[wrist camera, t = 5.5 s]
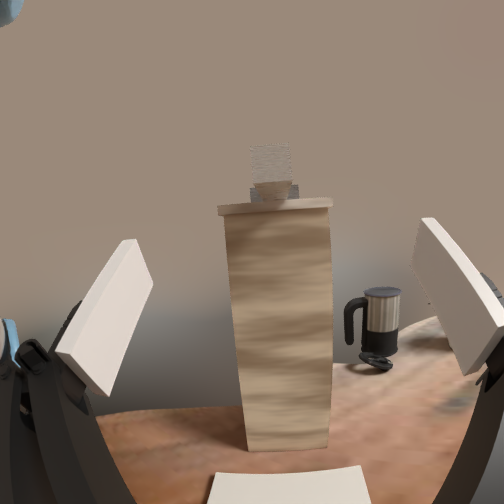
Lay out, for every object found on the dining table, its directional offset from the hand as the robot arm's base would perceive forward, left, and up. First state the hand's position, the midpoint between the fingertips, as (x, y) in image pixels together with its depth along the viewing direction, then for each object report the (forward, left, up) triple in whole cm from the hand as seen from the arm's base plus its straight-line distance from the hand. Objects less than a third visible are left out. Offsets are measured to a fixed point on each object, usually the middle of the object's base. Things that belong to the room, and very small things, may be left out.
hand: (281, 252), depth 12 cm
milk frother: (-6, +49, -29) cm, 57 cm away
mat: (+1, -1, -29) cm, 29 cm away
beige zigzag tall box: (-13, +19, -29) cm, 37 cm away
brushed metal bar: (-9, +14, +4) cm, 17 cm away
